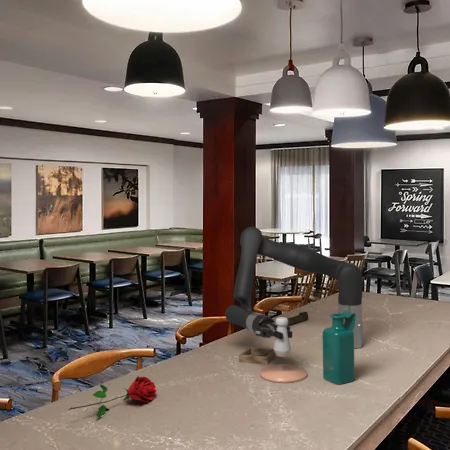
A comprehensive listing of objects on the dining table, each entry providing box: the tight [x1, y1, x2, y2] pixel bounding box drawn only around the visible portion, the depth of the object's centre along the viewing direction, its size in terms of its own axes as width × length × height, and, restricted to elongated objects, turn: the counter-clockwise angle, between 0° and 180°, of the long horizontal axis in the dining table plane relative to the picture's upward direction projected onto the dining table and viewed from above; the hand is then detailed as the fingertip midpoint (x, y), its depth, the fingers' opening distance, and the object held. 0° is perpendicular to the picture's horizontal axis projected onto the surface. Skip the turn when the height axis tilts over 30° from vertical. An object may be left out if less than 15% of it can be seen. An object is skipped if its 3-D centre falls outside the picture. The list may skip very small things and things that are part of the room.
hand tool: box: [286, 311, 309, 326], centre depth 250 cm, size 19×4×5 cm, turn 132°
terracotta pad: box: [259, 363, 308, 384], centre depth 178 cm, size 16×16×1 cm
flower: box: [68, 375, 158, 419], centre depth 152 cm, size 9×9×30 cm
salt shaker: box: [273, 316, 292, 358], centre depth 177 cm, size 6×6×13 cm
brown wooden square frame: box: [238, 346, 277, 366], centre depth 196 cm, size 11×11×2 cm
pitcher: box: [321, 311, 356, 385], centre depth 172 cm, size 10×8×22 cm
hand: (286, 335), depth 175 cm, fingers closed on salt shaker, 3 cm apart
